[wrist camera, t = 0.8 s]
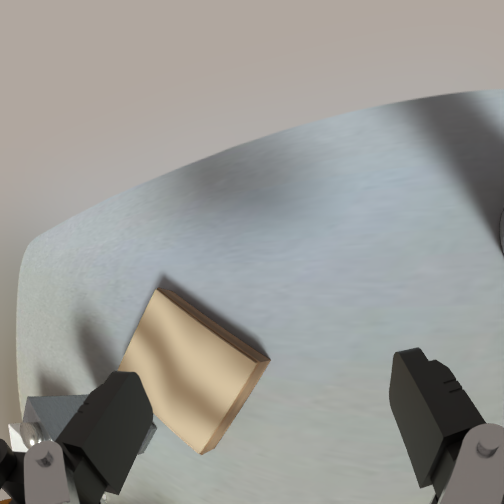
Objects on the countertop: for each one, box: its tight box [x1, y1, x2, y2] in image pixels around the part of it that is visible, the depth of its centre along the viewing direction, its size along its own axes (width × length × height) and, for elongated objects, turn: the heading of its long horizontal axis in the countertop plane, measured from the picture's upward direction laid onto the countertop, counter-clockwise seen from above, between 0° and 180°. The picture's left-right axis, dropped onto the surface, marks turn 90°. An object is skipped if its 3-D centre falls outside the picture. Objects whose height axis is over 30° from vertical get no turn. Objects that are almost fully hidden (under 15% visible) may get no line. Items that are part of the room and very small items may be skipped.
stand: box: [117, 288, 271, 455], centre depth 30 cm, size 12×14×3 cm
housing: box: [20, 394, 157, 455], centre depth 26 cm, size 5×8×16 cm, turn 59°
